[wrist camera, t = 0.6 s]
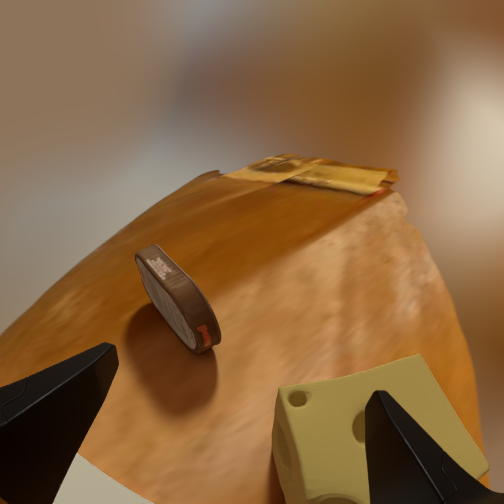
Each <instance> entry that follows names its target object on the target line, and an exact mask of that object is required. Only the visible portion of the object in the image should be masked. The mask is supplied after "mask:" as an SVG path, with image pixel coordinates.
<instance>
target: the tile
mask: <svg viewBox="0 0 504 504" xmlns="http://www.w3.org/2000/svg"><path fill="white" fill-rule="evenodd" d="M60 486H61V487H60V489H59V491H58V493H57V495H56V498H55V500H54V502H53V504H154V503H152V502H150V501H148V500H147V499H145V498H143V497H141V496H139V495H138V494H136V493H134V492H133V491H131V490H129V489H128V488H126V487H125V486H123V485H121V484H120V483H118V482H117V481H115V480H114V479H112V478H111V477H109V476H108V475H106V474H105V473H103V472H102V471H101V470H99V469H98V468H96V467H95V466H94V465H92V464H91V463H90V462H88V461H87V460H86V459H84V458H83V457H82V456H80V455H79V454H78V453H77V454H76V456H75V458H74V460H73V462H72V464H71V466H70V468H69V470H68V472H67V474H66V476H65V478H64V480H63V482H62V484H61V485H60Z"/></svg>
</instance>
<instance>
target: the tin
mask: <svg viewBox="0 0 504 504" xmlns="http://www.w3.org/2000/svg"><path fill="white" fill-rule="evenodd" d="M135 261H136V263H137V265H138V268H139V271H140V274H141V277H142V282H143V285H144V287H145V289H146V291H147V293H148V295H149V297H150V299H151V301H152V302H153V304H154V306H155V307H156V309H157V310H158V311H159V313H160V314H161V315H162V317H163V318H164V319H165V321H166V322H167V323H168V325H169V326H170V327H171V329H172V330H173V331H174V332H175V334H176V335H177V336H178V337H179V339H180V340H181V341H182V342H183V343H184V345H185V346H186V347H187V348H188V349H189V350H190V351H192V352H193V353H195V354H200V353H202V352H204V351H206V350H208V349H209V348H211V347H213V346H214V345H218V344H219V343H220V342H221V331H220V328H219V324H218V321H217V319H216V317H215V314H214V312H213V310H212V308H211V306H210V304H209V302H208V300H207V299H206V297H205V296H204V294H203V293H202V291H201V289H200V288H199V287H198V285H197V284H196V283H195V282H194V280H193V279H192V278H191V277H190V276H189V275H188V274H187V273H186V272H185V271H184V270H183V269H182V268H181V267H180V266H179V265H177V264H176V263H175V262H174V261H173V260H172V259H171V258H170V257H169V256H168V255H167V254H166V253H165V252H164V251H163V250H162V249H161V248H160V247H159V246H158V245H157V244H152V245H151V246H149V247H147V248H145V249H143V250H141V251H139V252H137V253H136V254H135Z"/></svg>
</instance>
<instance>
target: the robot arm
mask: <svg viewBox="0 0 504 504" xmlns="http://www.w3.org/2000/svg"><path fill="white" fill-rule="evenodd" d="M118 366H119V360H118V355H117V349H116V346H115V345H113V344H110V343H107V342H104V343H101V344H99V345H97V346H95V347H93V348H90V349H88V350H86V351H84V352H82V353H80V354H77V355H75V356H73V357H71V358H69V359H66V360H64V361H62V362H60V363H57V364H55V365H53V366H51V367H49V368H46V369H44V370H42V371H40V372H37V373H35V374H33V375H30V376H29V377H26V378H24V379H21V380H19V381H16V382H14V383H12V384H9V385H6V386H3V387H0V504H53V502H54V500H55V498H56V495H57V493H58V491H59V489H60V487H61V486H60V485H61V484H62V482H63V480H64V478H65V476H66V474H67V472H68V470H69V468H70V466H71V464H72V462H73V460H74V458H75V456H76V454H77V452H78V450H79V448H80V446H81V444H82V442H83V440H84V438H85V436H86V434H87V432H88V430H89V429H90V427H91V425H92V423H93V421H94V419H95V417H96V415H97V414H98V412H99V410H100V408H101V406H102V404H103V402H104V400H105V398H106V396H107V393H108V391H109V388H110V386H111V384H112V381H113V379H114V376H115V374H116V372H117V369H118ZM365 452H366V461H367V471H368V483H369V496H370V504H504V493H497V492H494V491H491V490H489V489H488V488H486V487H485V486H484V485H482V484H481V483H480V482H479V481H477V480H476V479H475V478H474V477H473V476H471V475H470V474H469V473H468V472H467V471H465V470H464V469H463V468H462V467H461V466H460V465H459V464H457V463H456V462H455V461H454V460H453V459H452V458H451V457H450V456H449V455H448V454H447V453H446V452H445V451H444V450H443V449H442V448H441V446H440V445H439V444H438V443H437V442H436V441H435V440H434V439H433V438H432V437H431V436H430V435H429V434H428V433H427V432H426V431H425V430H424V429H423V428H422V427H421V426H420V425H419V424H418V423H417V422H416V421H415V420H414V419H413V418H412V417H411V416H410V414H409V413H408V412H407V411H406V410H405V409H404V408H403V407H402V406H401V405H400V404H399V403H398V402H397V401H396V400H395V399H394V398H393V397H392V396H391V395H390V394H389V393H388V392H387V391H386V390H375V391H374V392H373V394H372V395H371V397H370V399H369V401H368V402H367V404H366V406H365Z"/></svg>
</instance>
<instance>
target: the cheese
mask: <svg viewBox="0 0 504 504" xmlns="http://www.w3.org/2000/svg"><path fill="white" fill-rule="evenodd" d="M375 390H386V391H387V392H388V393H389V394H390V395H391V396H392V397H393V398H394V399H395V400H396V401H397V402H398V403H399V404H400V405H401V406H402V407H403V408H404V409H405V410H406V411H407V412H408V413H409V414H410V416H411V417H412V418H413V419H414V420H415V421H416V422H417V423H418V424H419V425H420V426H421V427H422V428H423V429H424V430H425V431H426V432H427V433H428V434H429V435H430V436H431V437H432V438H433V439H434V440H435V441H436V442H437V443H438V444H439V445H440V446H441V448H442V449H443V450H444V451H445V452H446V453H447V454H448V455H449V456H450V457H451V458H452V459H453V460H454V461H455V462H456V463H457V464H459V465H460V466H461V467H462V468H463V469H464V470H465V471H467V472H468V473H469V474H470V475H471V476H473V477H474V478H475V479H476V480H479V479H480V478H481V477H482V476H483V475H484V474H486V473H487V472H488V471H489V469H490V466H489V464H488V462H487V460H486V459H485V457H484V456H483V454H482V452H481V451H480V449H479V448H478V446H477V445H476V443H475V442H474V440H473V439H472V438H471V436H470V435H469V433H468V432H467V430H466V429H465V427H464V426H463V424H462V422H461V420H460V419H459V417H458V416H457V414H456V412H455V410H454V409H453V407H452V405H451V404H450V402H449V401H448V399H447V397H446V396H445V394H444V392H443V391H442V389H441V388H440V386H439V384H438V383H437V381H436V379H435V378H434V376H433V374H432V373H431V371H430V369H429V368H428V366H427V364H426V362H425V360H424V359H423V357H422V355H421V354H416V355H413V356H409V357H405V358H402V359H399V360H396V361H393V362H390V363H387V364H384V365H381V366H378V367H375V368H372V369H369V370H366V371H362V372H359V373H355V374H351V375H348V376H343V377H339V378H334V379H329V380H323V381H317V382H310V383H302V384H294V385H287V386H281V387H279V389H278V394H277V399H276V404H275V415H274V423H273V429H272V452H273V456H274V461H275V465H276V469H277V474H278V478H279V482H280V486H281V488H282V491H283V493H284V496H285V502H286V504H370V496H369V483H368V471H367V461H366V452H365V406H366V404H367V402H368V401H369V399H370V397H371V395H372V394H373V392H374V391H375Z"/></svg>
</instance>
